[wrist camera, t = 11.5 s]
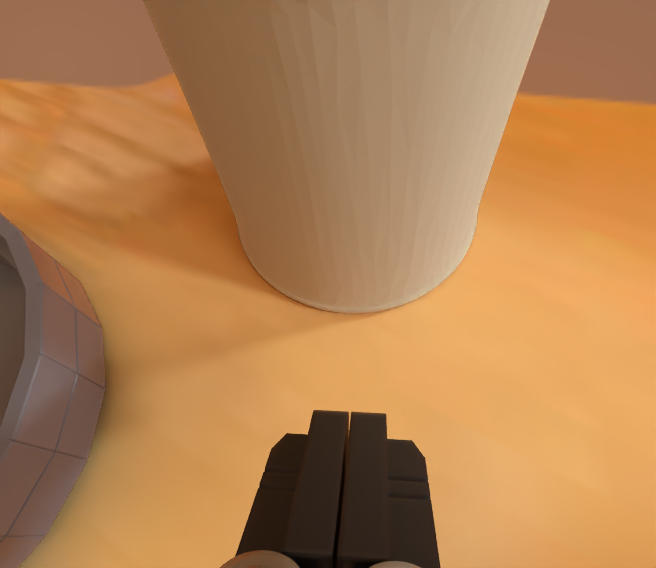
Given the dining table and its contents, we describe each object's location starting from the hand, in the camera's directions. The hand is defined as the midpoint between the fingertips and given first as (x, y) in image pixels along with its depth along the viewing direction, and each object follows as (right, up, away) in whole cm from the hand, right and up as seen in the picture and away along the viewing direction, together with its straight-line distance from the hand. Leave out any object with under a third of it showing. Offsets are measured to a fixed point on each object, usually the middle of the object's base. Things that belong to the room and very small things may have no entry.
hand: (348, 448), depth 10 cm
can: (+1, +6, +9) cm, 11 cm away
